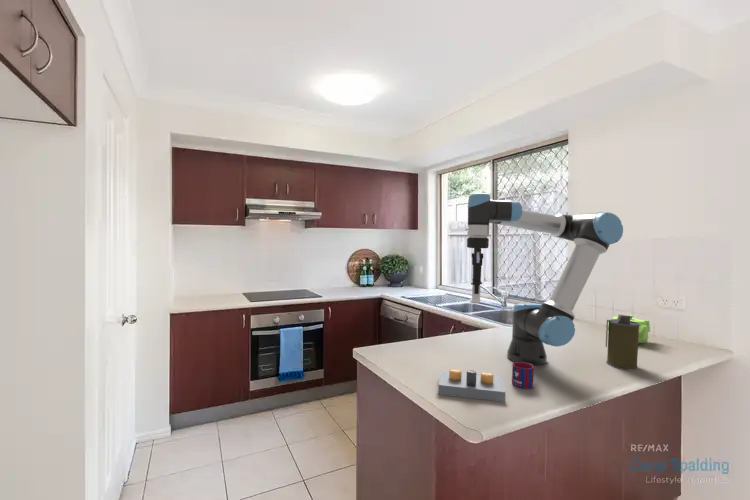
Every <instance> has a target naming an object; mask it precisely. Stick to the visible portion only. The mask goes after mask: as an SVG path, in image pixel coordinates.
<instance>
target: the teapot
mask: <svg viewBox="0 0 750 500" xmlns="http://www.w3.org/2000/svg"><path fill="white" fill-rule="evenodd" d="M628 315H629V316H631V317H632V318H630V321H633V322H637V323H639V324H640V326H639V336H638V344H639V343H641V344H646V343H647V342H648V341H649V333H650V332H651V327H650V325H651V324H650V320H647V319H639V318H636V317H633V316H634V315H632V314H628ZM617 318H618V316H613V317H612V319H617ZM610 319H611V318H610ZM610 319H609V318H608V320H610ZM608 332H609V322H608Z"/></svg>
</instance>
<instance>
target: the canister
mask: <svg viewBox="0 0 750 500" xmlns="http://www.w3.org/2000/svg"><path fill="white" fill-rule="evenodd" d="M629 315H630V314H618V316H617V317H618V318H617V319H613V318H612V319H611V318H610V320H609V319H606V331H605V347H606V348H607V355H606V356H607V358H606V362H605V363H606V364H607V365H608V366H610V365H611V367H613V366H614V367H613V368H616V367H617V369H620V368H622V370H627V369H635V370H637V369H638V368H639V367H638V352H639V343H638V336H639V326H640V324H639V323H637V322H633V321H630V318H632V317H631V316H629ZM608 322H609V331H608Z"/></svg>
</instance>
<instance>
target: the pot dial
mask: <svg viewBox="0 0 750 500" xmlns="http://www.w3.org/2000/svg"><path fill="white" fill-rule="evenodd" d="M466 373H467V379H466V385H468V386H471V387H474V386H476V374H477V372H476V371H474V370H466Z"/></svg>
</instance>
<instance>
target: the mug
mask: <svg viewBox="0 0 750 500" xmlns="http://www.w3.org/2000/svg"><path fill="white" fill-rule="evenodd" d="M511 367H512V368H511V369H512V372H511V384H512V385H513V386H514V387H515V388H518V389H521V390H531V389H532V388H533V387H534V374H535V373H534V372H535V365H533V364H529V363H524V362H515V361H513V363H512V366H511Z"/></svg>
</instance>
